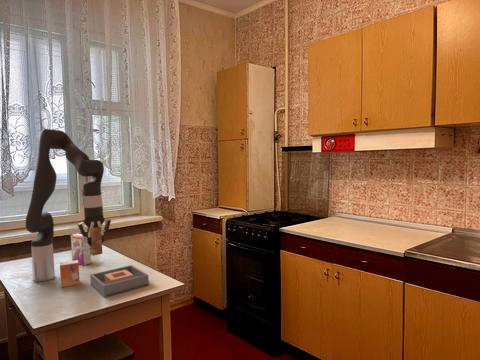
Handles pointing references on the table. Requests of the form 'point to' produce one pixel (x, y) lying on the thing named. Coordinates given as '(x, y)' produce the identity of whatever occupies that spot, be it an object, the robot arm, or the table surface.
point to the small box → (69, 273)
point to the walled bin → (118, 280)
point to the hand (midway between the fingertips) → (95, 244)
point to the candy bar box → (80, 249)
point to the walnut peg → (96, 241)
